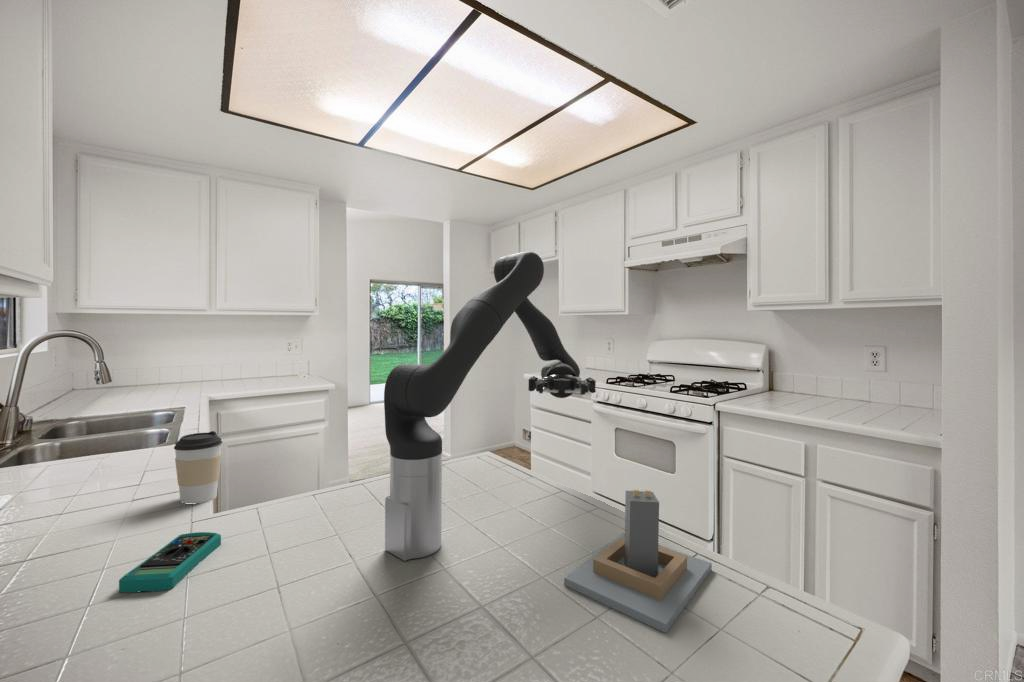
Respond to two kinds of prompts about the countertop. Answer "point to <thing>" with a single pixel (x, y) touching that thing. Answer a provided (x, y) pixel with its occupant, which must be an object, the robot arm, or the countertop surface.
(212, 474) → the coffee cup
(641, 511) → the connector
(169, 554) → the digital multimeter
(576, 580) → the holder
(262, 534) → the countertop surface
